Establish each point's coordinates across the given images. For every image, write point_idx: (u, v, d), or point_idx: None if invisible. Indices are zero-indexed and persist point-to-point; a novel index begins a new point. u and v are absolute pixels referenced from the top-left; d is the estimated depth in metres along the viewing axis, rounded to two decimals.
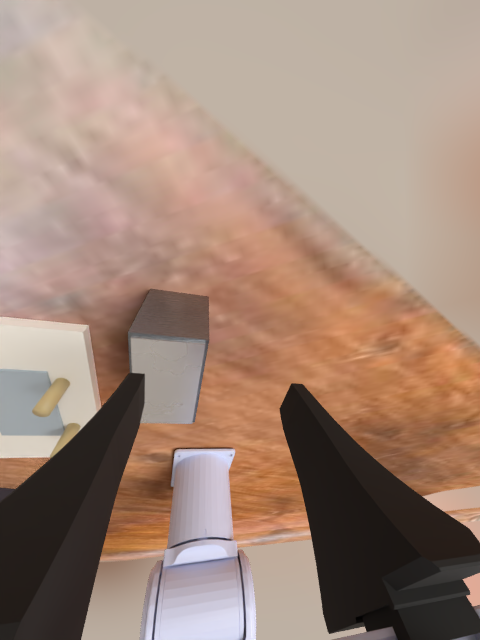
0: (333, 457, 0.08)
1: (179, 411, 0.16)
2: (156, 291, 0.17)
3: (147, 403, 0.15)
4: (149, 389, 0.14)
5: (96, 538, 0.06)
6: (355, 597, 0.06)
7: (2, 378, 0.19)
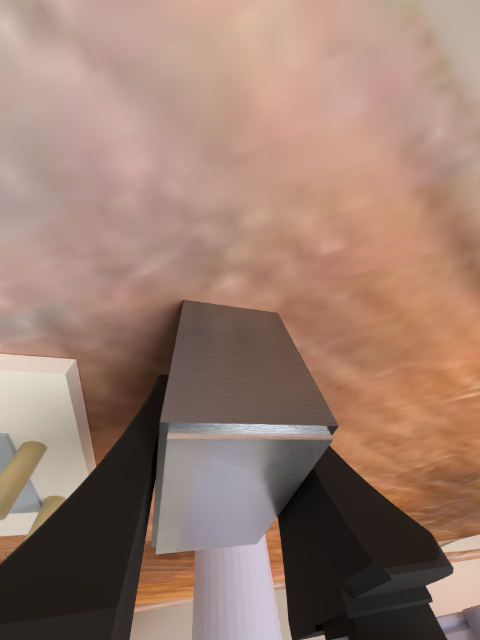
0: None
1: (241, 533, 0.09)
2: (194, 306, 0.10)
3: (185, 530, 0.08)
4: (193, 513, 0.07)
5: (143, 534, 0.07)
6: (315, 604, 0.06)
7: None
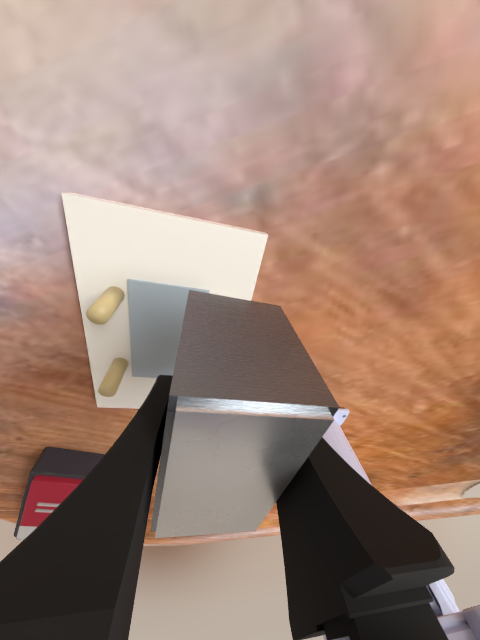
0: None
1: (239, 518, 0.09)
2: (199, 295, 0.10)
3: (185, 513, 0.08)
4: (194, 494, 0.07)
5: (142, 534, 0.07)
6: (316, 604, 0.06)
7: (161, 296, 0.16)
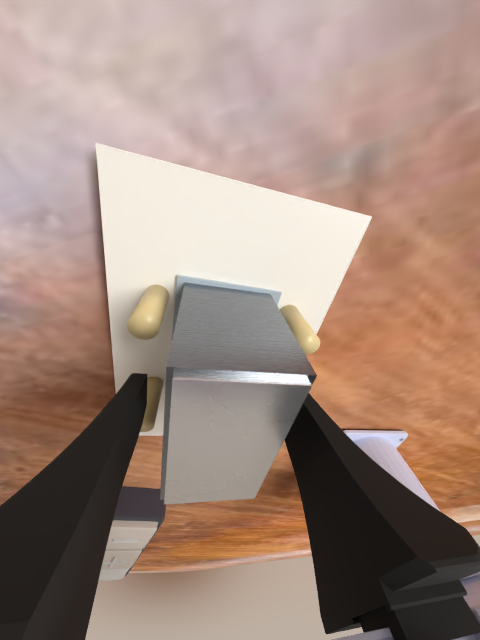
0: (330, 457, 0.08)
1: (239, 485, 0.10)
2: (194, 287, 0.11)
3: (189, 478, 0.09)
4: (195, 459, 0.08)
5: (100, 538, 0.06)
6: (352, 598, 0.06)
7: None
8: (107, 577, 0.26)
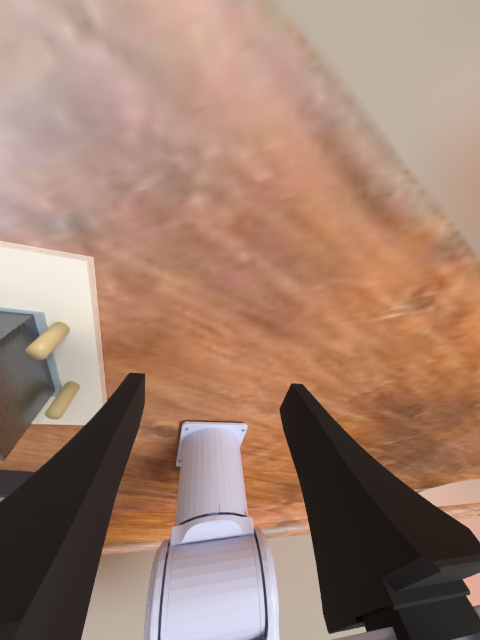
0: (333, 457, 0.08)
1: None
2: None
3: None
4: None
5: (96, 538, 0.06)
6: (355, 597, 0.06)
7: None
8: None
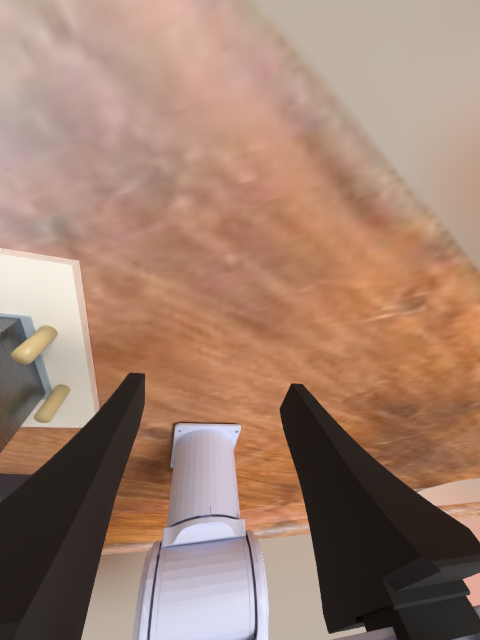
0: (333, 457, 0.08)
1: None
2: None
3: None
4: None
5: (96, 538, 0.06)
6: (355, 597, 0.06)
7: None
8: None
